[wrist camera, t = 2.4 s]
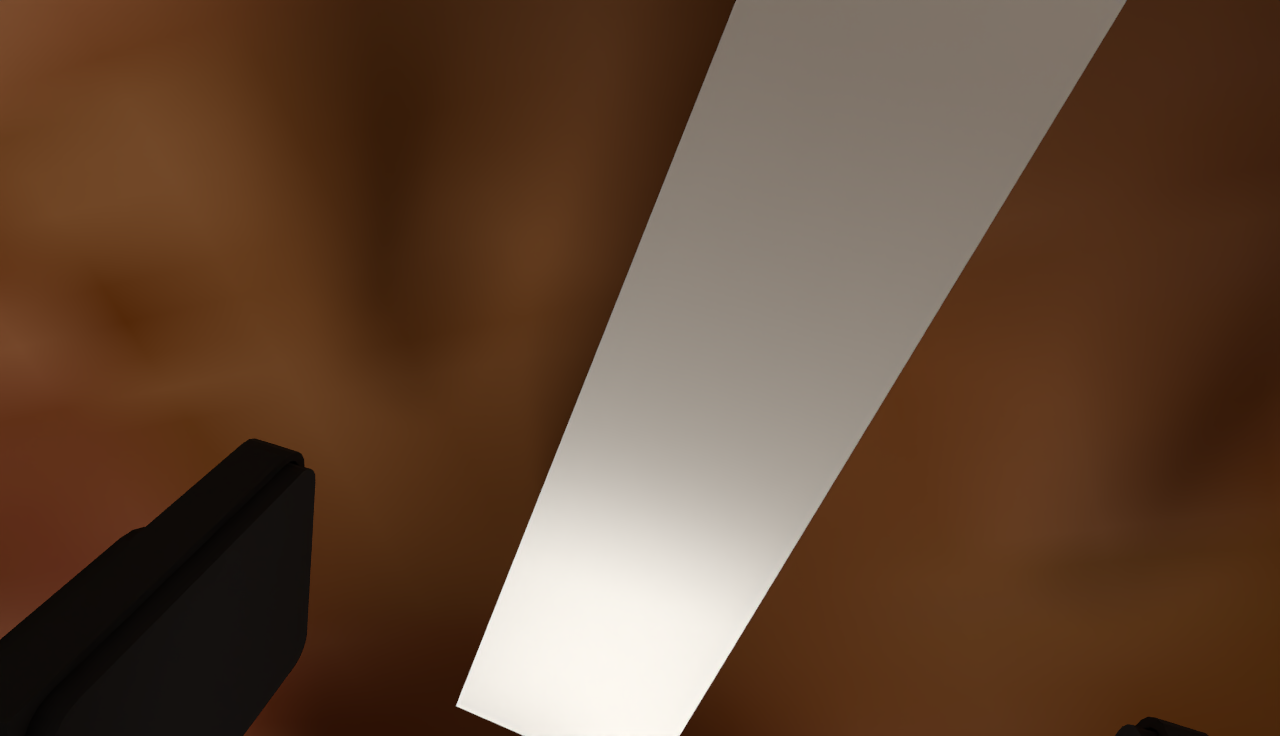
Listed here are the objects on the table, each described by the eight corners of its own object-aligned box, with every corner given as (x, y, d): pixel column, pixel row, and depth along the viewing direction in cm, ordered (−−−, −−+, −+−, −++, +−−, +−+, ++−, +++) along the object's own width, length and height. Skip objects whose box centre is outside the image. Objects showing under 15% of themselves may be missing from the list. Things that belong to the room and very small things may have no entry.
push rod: (1185, -1039, 6) (1543, -2033, 3) (1503, -904, 6) (2203, -1767, 3) (545, 521, 13) (456, 705, 10) (692, 584, 13) (646, 789, 10)
